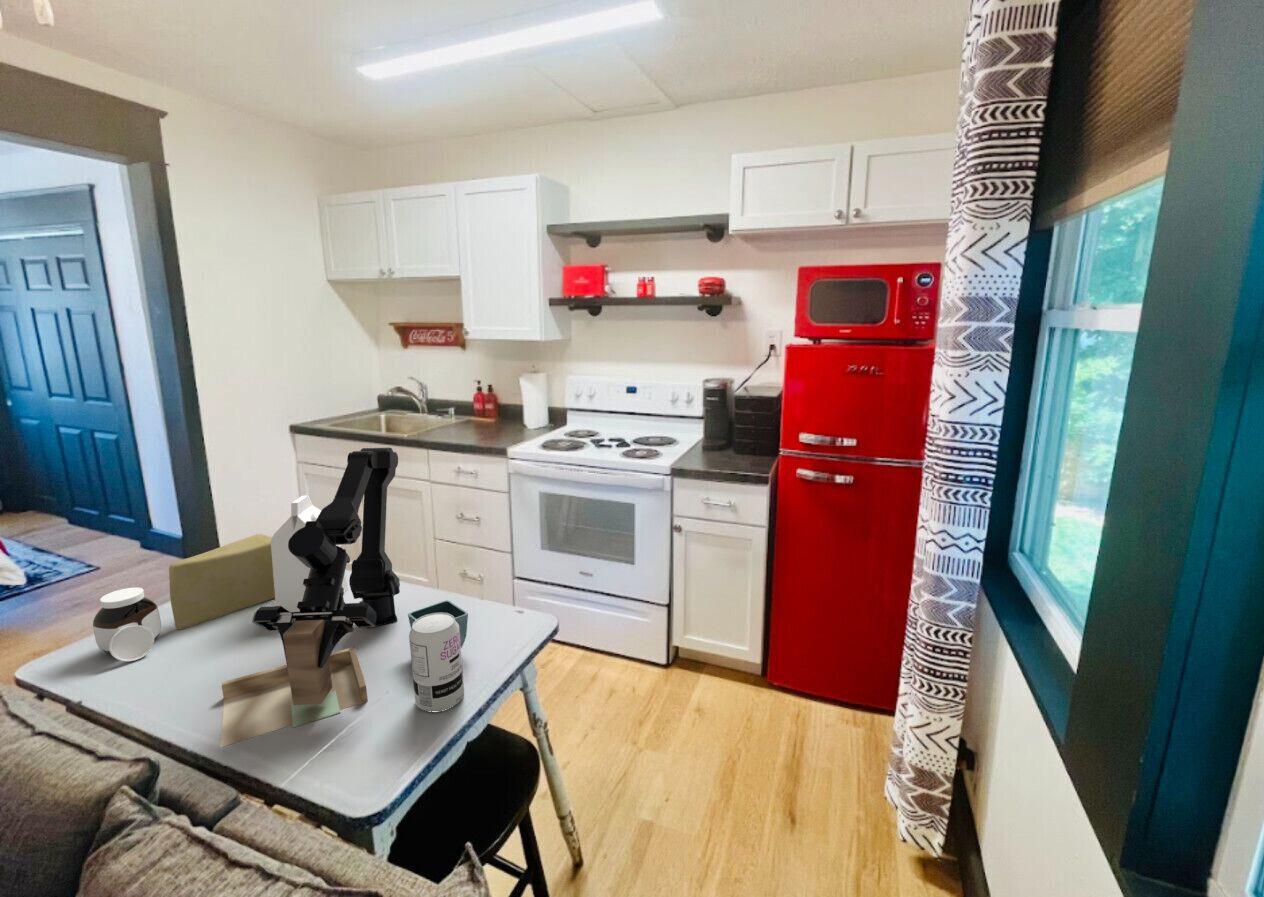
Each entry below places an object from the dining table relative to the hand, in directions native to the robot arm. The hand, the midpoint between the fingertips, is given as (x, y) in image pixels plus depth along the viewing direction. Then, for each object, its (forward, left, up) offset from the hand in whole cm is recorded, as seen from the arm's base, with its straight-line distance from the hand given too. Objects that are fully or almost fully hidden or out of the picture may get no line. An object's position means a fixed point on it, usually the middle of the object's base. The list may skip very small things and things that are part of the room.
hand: (305, 668), depth 98 cm
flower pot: (-24, -8, -9) cm, 27 cm away
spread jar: (+29, -44, -9) cm, 54 cm away
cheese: (+13, -54, -9) cm, 57 cm away
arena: (+2, -6, -9) cm, 11 cm away
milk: (-4, -47, -9) cm, 48 cm away
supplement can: (-20, +7, -9) cm, 23 cm away
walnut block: (-1, -1, -6) cm, 6 cm away
